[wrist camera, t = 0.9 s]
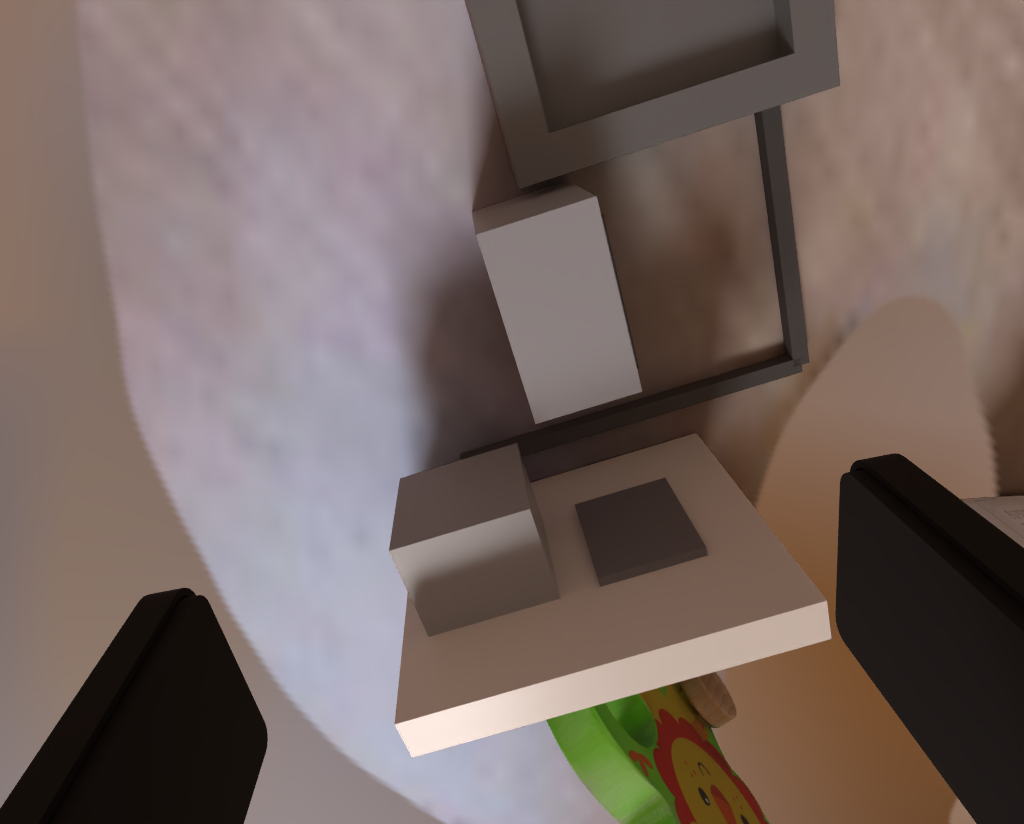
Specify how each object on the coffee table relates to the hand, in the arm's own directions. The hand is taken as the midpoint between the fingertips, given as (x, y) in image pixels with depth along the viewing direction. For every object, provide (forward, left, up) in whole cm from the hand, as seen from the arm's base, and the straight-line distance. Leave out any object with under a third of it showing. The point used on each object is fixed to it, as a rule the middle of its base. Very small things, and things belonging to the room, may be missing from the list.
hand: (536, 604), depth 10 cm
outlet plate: (-1, +8, -20) cm, 21 cm away
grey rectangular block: (-3, 0, -20) cm, 20 cm away
